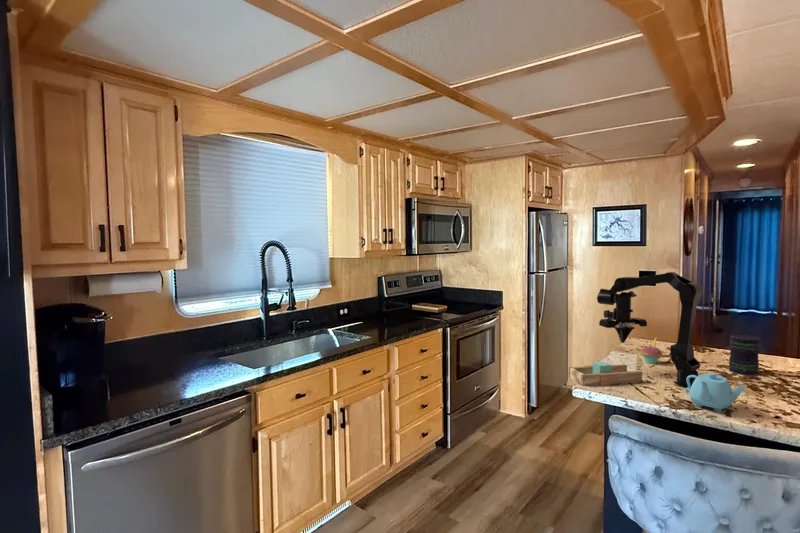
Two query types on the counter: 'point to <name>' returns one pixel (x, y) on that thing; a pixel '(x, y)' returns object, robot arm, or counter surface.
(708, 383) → the teapot
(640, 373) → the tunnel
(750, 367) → the storage jar
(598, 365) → the block
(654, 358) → the cupcake
